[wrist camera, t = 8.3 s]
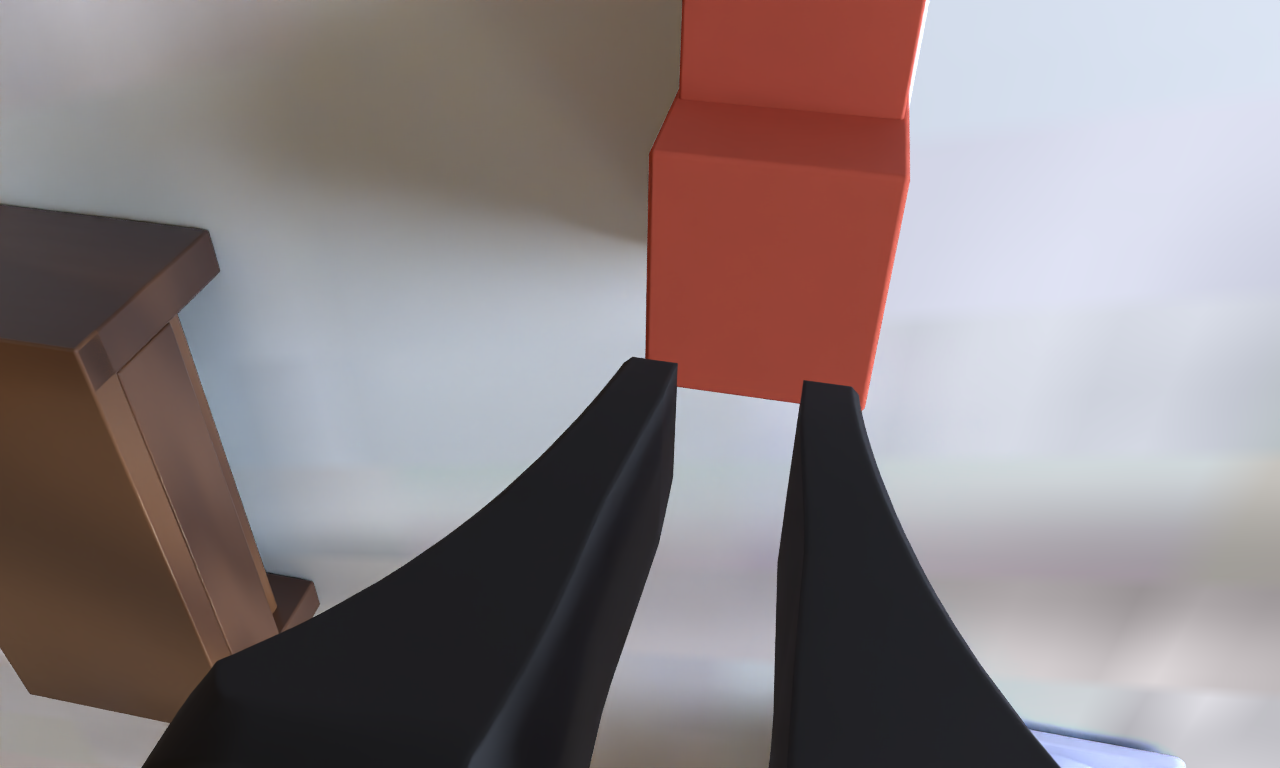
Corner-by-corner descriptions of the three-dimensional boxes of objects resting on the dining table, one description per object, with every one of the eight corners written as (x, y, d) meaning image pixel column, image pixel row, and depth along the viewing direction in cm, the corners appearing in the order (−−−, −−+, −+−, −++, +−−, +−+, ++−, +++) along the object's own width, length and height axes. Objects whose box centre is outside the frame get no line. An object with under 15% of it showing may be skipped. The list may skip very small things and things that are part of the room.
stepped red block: (874, 271, 21) (867, 424, 17) (686, 249, 21) (637, 392, 17) (944, -104, 16) (957, -11, 12) (703, -118, 17) (643, -35, 13)
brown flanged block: (321, 604, 32) (243, 739, 29) (128, 569, 33) (29, 694, 30) (209, 228, 24) (74, 350, 20) (-46, 197, 25) (-221, 307, 21)
